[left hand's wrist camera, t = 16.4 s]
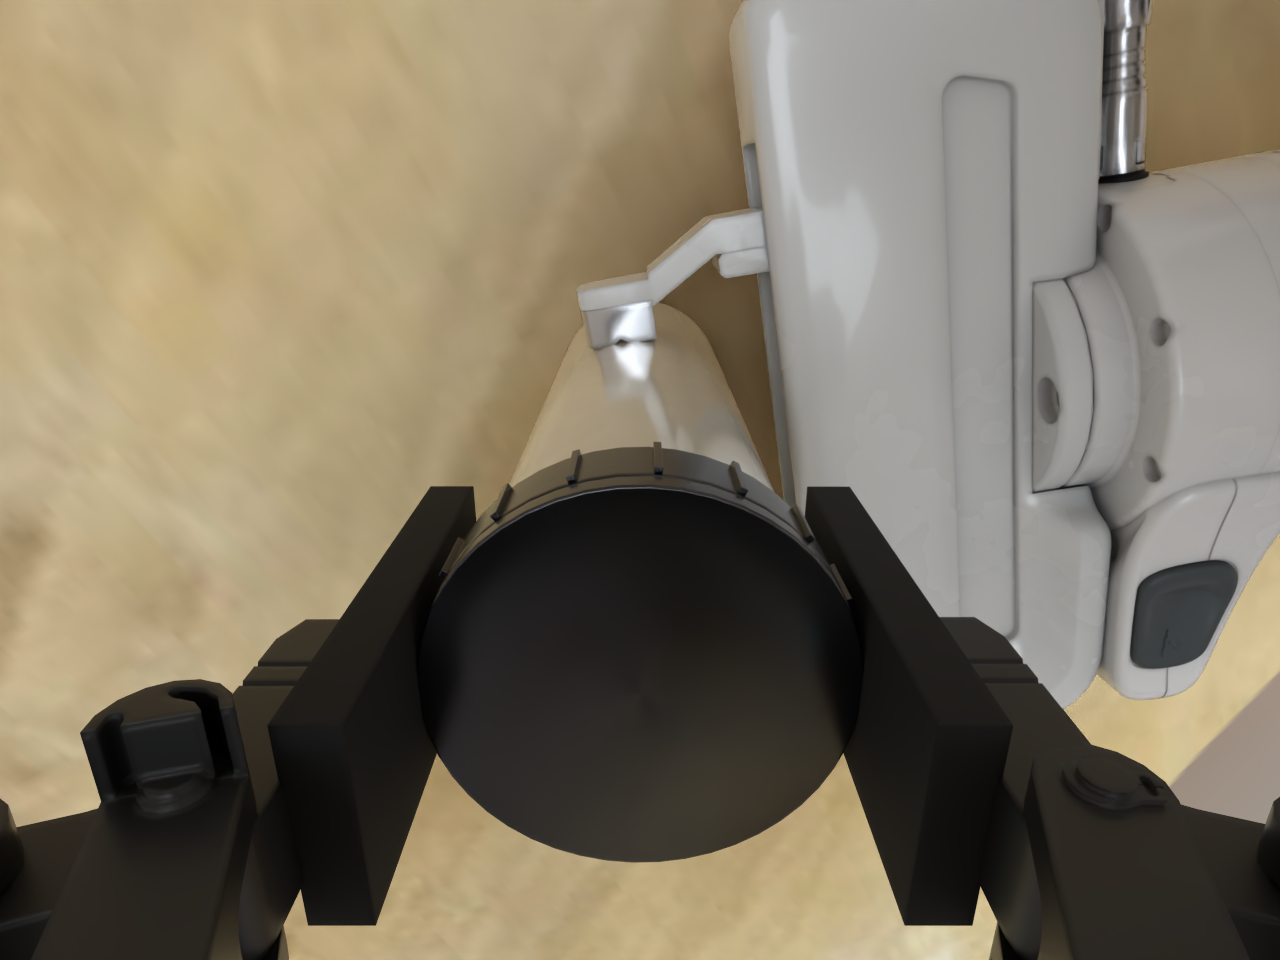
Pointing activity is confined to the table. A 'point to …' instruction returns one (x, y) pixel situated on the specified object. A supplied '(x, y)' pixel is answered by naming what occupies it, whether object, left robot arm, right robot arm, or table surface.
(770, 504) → the lid
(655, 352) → the jar
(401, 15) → the table surface
